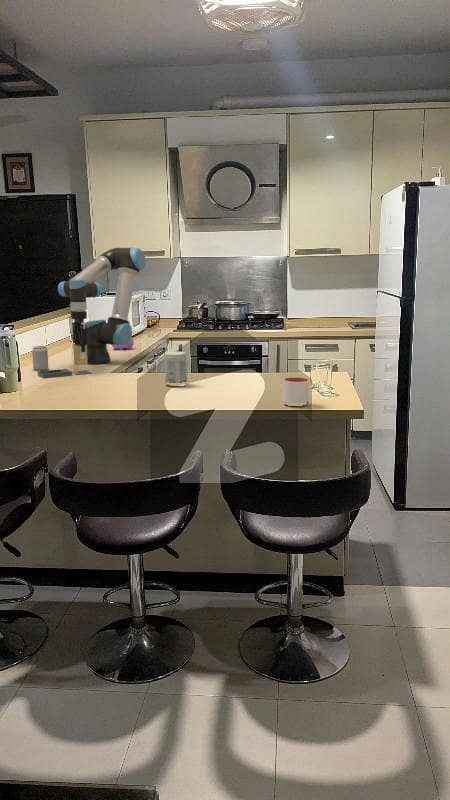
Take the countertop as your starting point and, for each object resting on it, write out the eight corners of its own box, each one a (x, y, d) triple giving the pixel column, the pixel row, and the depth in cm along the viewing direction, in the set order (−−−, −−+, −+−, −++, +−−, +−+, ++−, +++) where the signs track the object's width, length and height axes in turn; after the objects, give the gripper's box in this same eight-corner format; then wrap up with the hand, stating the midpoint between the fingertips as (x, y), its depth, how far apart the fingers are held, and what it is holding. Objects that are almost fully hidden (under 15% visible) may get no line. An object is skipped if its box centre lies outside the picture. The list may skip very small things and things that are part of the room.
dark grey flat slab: (65, 372, 307) (65, 368, 306) (72, 375, 300) (71, 371, 299) (37, 375, 299) (37, 371, 299) (43, 378, 292) (43, 373, 292)
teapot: (141, 350, 388) (140, 330, 385) (120, 352, 379) (120, 332, 377) (125, 346, 403) (125, 328, 401) (106, 348, 395) (105, 329, 392)
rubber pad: (86, 370, 312) (86, 370, 312) (92, 373, 306) (92, 372, 306) (70, 372, 308) (70, 371, 308) (76, 374, 301) (76, 374, 301)
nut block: (83, 363, 309) (83, 343, 307) (87, 364, 305) (87, 344, 303) (73, 364, 306) (73, 344, 304) (77, 365, 302) (76, 345, 300)
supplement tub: (183, 382, 283) (183, 351, 280) (189, 386, 274) (189, 353, 271) (162, 384, 280) (162, 351, 277) (168, 388, 271) (167, 354, 268)
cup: (280, 402, 245) (281, 377, 242) (305, 401, 245) (306, 377, 243) (285, 408, 235) (285, 382, 233) (310, 407, 236) (311, 381, 234)
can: (44, 371, 311) (42, 347, 309) (30, 370, 313) (29, 347, 310) (51, 368, 318) (49, 345, 316) (37, 368, 320) (36, 345, 317)
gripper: (64, 309, 306) (66, 356, 310) (78, 312, 291) (80, 360, 296) (79, 309, 310) (81, 355, 315) (93, 311, 295) (94, 359, 300)
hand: (80, 357), depth 305 cm, fingers closed on nut block, 5 cm apart
